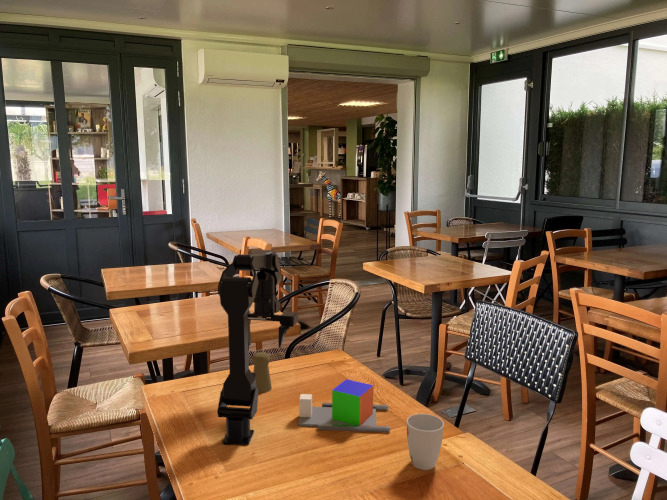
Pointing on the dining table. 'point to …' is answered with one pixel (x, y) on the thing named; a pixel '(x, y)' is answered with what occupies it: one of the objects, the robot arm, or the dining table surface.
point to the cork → (262, 371)
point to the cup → (424, 440)
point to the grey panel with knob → (322, 414)
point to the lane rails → (355, 427)
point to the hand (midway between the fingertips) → (264, 346)
